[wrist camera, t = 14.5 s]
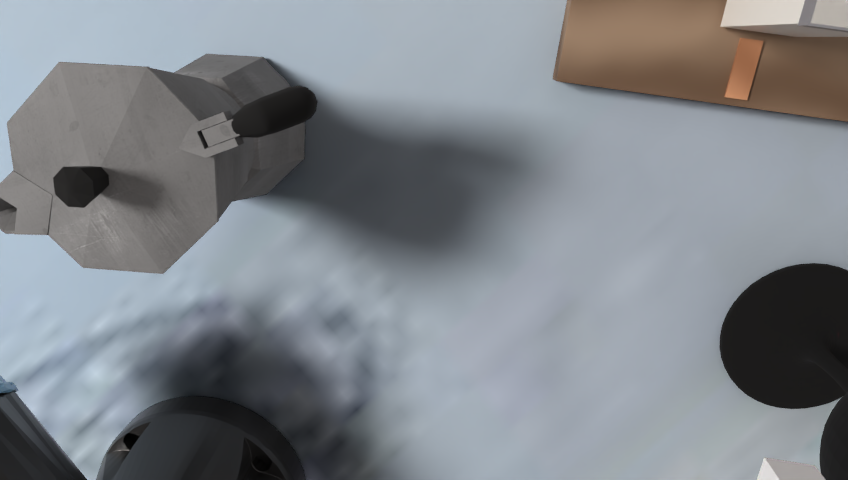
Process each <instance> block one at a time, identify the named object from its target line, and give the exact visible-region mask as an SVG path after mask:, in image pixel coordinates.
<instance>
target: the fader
mask: <svg viewBox="0 0 848 480" xmlns="http://www.w3.org/2000/svg"><path fill="white" fill-rule="evenodd" d="M720 27H726V28H733V29H741V30H748V31H755V32H763V33H770V34H778V35H785V36H792V37H848V0H727V2H726V6H725V10H724V14H723V18H722V22H721V26H720Z"/></svg>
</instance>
